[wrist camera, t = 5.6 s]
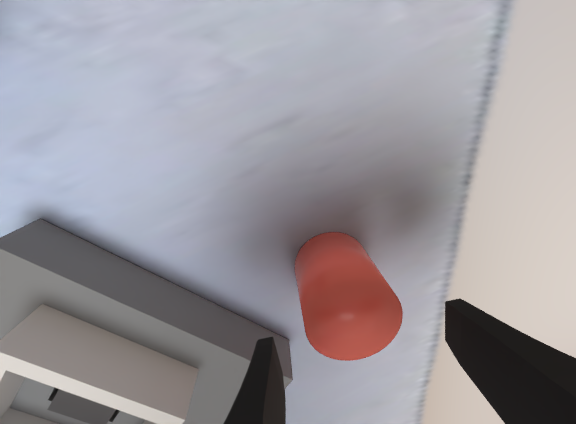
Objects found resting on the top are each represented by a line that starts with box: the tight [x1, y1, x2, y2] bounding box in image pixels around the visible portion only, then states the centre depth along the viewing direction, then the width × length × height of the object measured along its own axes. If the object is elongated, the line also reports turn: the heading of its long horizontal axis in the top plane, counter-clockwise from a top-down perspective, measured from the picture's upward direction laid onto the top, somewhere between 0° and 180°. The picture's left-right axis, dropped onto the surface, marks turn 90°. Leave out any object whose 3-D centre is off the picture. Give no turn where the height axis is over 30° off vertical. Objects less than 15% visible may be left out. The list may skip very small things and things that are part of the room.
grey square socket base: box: [0, 219, 293, 424], centre depth 16 cm, size 16×14×6 cm
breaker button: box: [47, 389, 116, 424], centre depth 17 cm, size 3×3×4 cm
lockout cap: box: [295, 232, 402, 360], centre depth 15 cm, size 4×4×5 cm
